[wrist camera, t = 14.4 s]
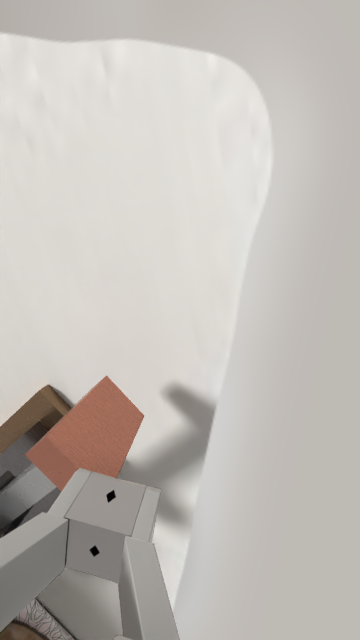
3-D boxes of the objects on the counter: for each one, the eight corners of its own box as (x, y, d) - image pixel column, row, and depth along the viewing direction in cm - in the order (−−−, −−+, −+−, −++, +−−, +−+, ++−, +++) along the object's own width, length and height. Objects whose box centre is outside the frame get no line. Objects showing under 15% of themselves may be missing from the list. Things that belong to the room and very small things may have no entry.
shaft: (20, 511, 25) (-63, 617, 17) (-13, 479, 25) (-114, 572, 17) (144, 415, 21) (107, 498, 13) (106, 375, 21) (46, 436, 13)
